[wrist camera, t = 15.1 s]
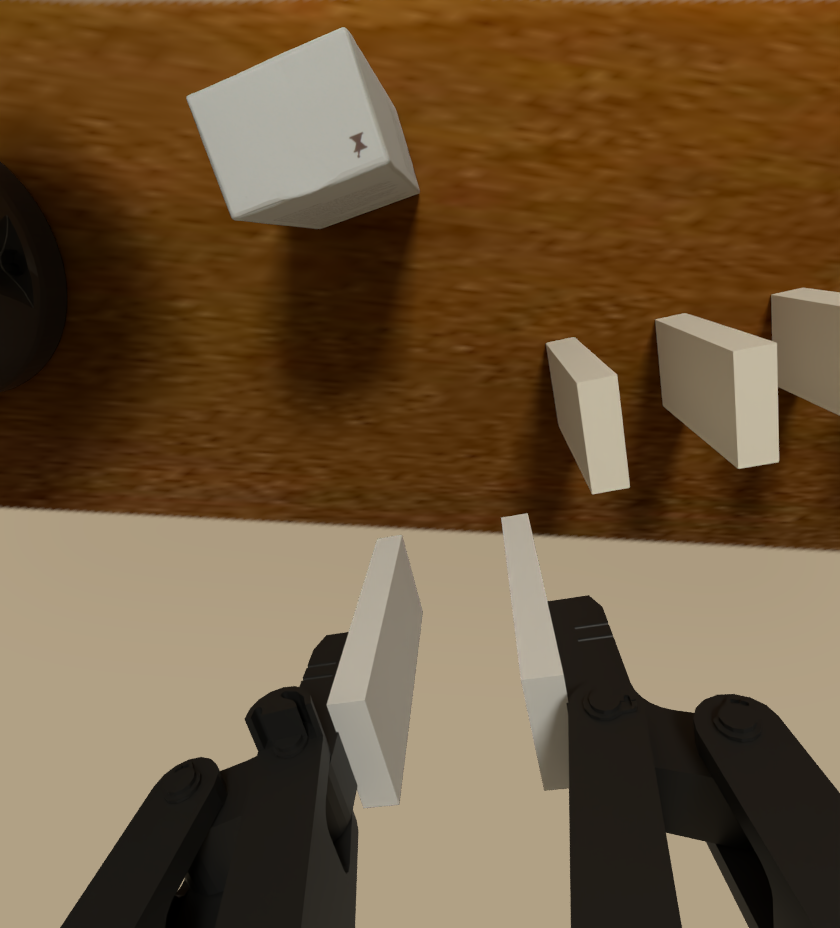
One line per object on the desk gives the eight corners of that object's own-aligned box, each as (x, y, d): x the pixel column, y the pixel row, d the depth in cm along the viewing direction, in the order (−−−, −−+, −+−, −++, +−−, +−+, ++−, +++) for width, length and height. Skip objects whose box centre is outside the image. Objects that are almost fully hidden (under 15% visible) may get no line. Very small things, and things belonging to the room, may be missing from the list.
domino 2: (662, 405, 33) (738, 469, 24) (655, 319, 32) (732, 351, 22) (691, 400, 33) (779, 462, 24) (685, 313, 31) (777, 342, 22)
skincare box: (395, 105, 29) (351, 19, 18) (421, 194, 30) (395, 165, 19) (286, 148, 30) (179, 92, 19) (315, 232, 31) (232, 226, 20)
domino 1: (558, 425, 34) (592, 494, 25) (545, 343, 33) (576, 383, 23) (585, 420, 34) (630, 487, 25) (574, 336, 32) (617, 375, 23)
